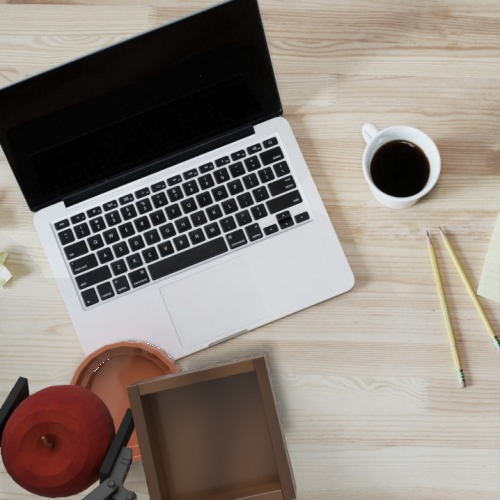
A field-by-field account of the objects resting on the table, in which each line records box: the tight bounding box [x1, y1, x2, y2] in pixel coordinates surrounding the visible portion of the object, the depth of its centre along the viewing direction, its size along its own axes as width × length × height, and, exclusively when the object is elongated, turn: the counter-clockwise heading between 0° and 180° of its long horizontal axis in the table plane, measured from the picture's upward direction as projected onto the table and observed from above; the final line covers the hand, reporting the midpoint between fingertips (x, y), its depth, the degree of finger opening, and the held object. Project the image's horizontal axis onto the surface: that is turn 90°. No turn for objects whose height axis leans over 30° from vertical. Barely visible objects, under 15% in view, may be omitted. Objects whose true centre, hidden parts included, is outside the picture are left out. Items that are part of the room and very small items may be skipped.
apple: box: [0, 384, 116, 499], centre depth 63 cm, size 10×10×10 cm
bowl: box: [69, 340, 182, 463], centre depth 87 cm, size 14×14×3 cm
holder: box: [127, 353, 297, 500], centre depth 61 cm, size 12×12×4 cm
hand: (77, 401), depth 64 cm, fingers closed on apple, 9 cm apart
